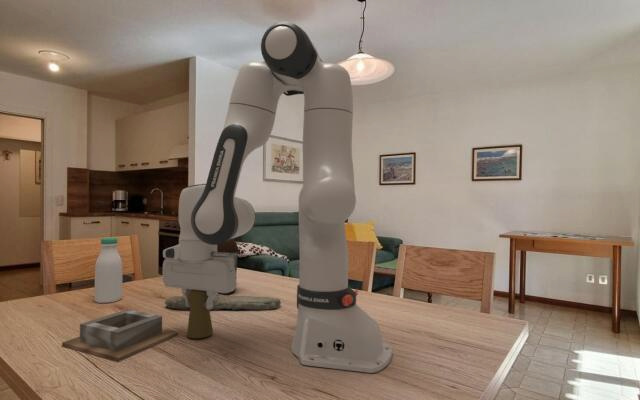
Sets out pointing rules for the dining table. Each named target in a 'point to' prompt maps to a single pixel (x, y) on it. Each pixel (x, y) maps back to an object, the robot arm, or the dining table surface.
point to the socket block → (120, 335)
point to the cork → (198, 315)
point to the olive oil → (232, 249)
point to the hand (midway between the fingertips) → (199, 307)
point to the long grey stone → (230, 302)
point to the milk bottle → (108, 273)
